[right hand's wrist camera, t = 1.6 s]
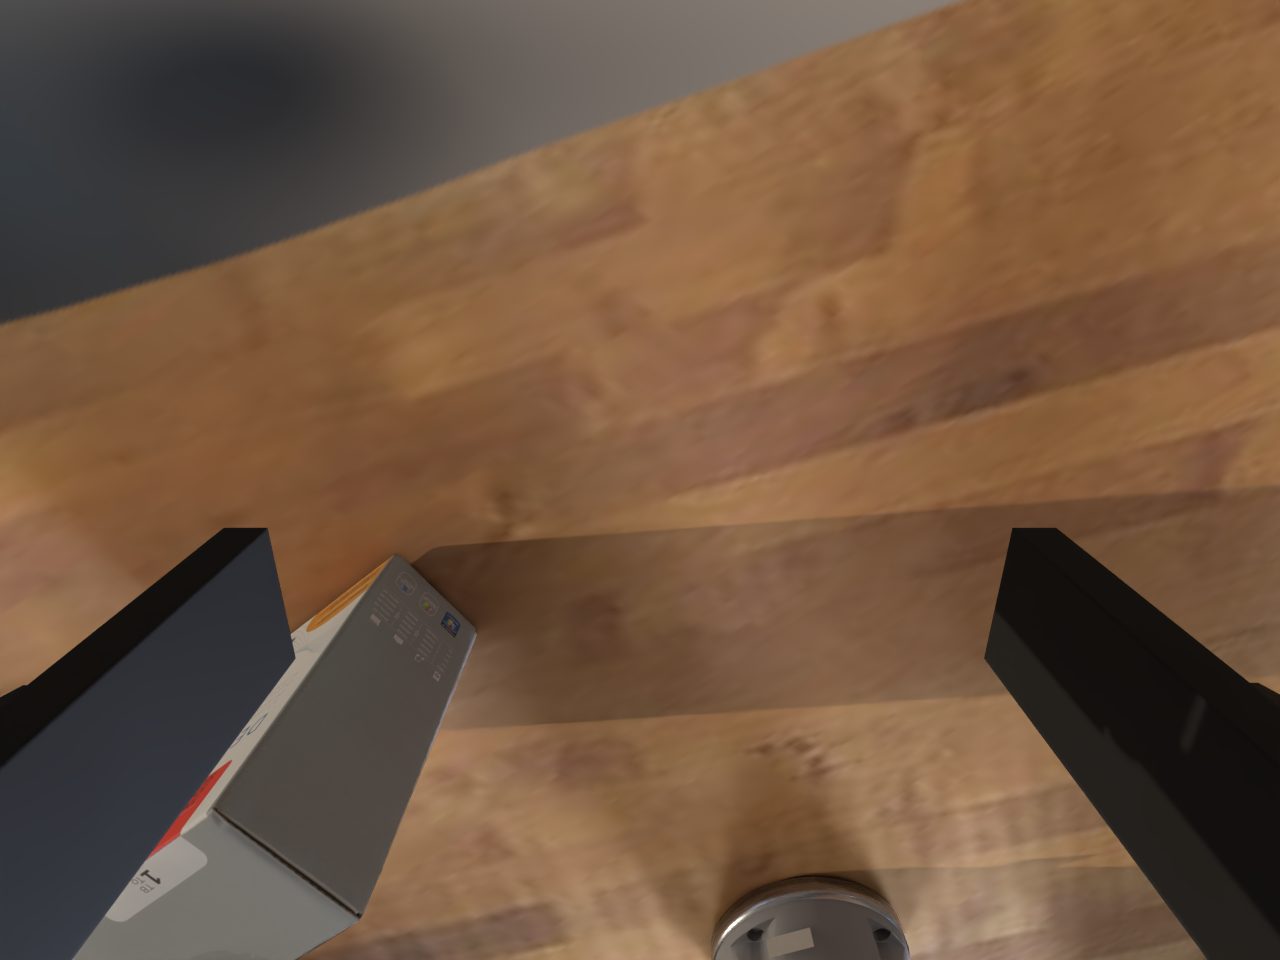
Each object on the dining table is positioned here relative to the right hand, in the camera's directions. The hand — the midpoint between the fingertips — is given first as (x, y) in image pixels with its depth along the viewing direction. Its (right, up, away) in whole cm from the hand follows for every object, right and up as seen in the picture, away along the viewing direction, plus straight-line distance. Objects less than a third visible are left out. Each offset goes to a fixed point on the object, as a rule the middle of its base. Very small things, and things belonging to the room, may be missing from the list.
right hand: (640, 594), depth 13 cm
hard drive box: (-19, -9, +34) cm, 40 cm away
